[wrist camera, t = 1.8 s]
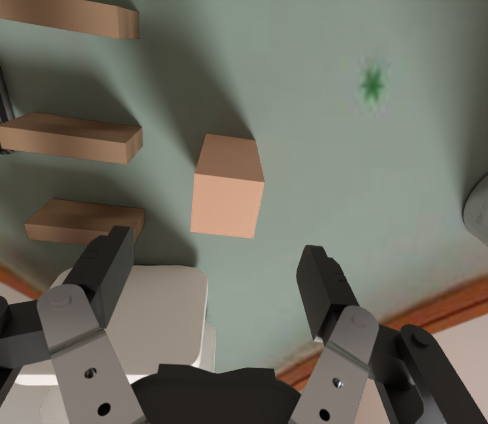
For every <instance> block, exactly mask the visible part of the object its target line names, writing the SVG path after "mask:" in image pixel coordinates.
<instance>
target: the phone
mask: <svg viewBox="0 0 488 424" xmlns="http://www.w3.org/2000/svg"><path fill="white" fill-rule="evenodd" d="M13 119H15V116H14V112H13V109H12V105H11V102H10V98H9V95H8V91H7V88H6V84H5V81H4V77H3V74H2V70H1V67H0V124H2V123H5V122H7V121H10V120H13ZM14 151H16V150H9V149H2V147H1V143H0V154H10V153H12V152H14Z"/></svg>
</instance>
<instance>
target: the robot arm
mask: <svg viewBox="0 0 488 424" xmlns="http://www.w3.org/2000/svg"><path fill="white" fill-rule="evenodd" d="M464 223H465V226H466V228H467V229H468V230H469V232H470V233H472V234H473V235H474V236H475V237H477V238H478V239H479V240H480V241H481V242H483V243H484V244H485V245H486V246H488V175H487V176H486V177H485V178H484V179H483V180H482V181H481V182H480V183H479V184H478V185H477V186H476V187H475V189H474V190H473V191H472V193H471V194H470V196H469V198H468V200H467V202H466V205H465V209H464ZM134 256H135V251H134V231H133V227H130V226H120V225H114V226H113V227H112V229H111V231H110V232H109V234H108V236H106V235H99V236H98V237H97V238H95V239H94V240H92V241H91V242H90V243H89V244H88V246H87V247H86V249H85V251H84V252H83V253H82V255H81V256H80V259H78V261H77V262H76V264H75V265H74V267H73V268H72V270H71V271H70V273H69V274H68V275H67V277H66V278H65V280H64V281H63V283H62V284H61V285H59V286H56V287H53V288H51V289H49V290H47V291H46V292H45V293H43V294H42V295H41V296H40V298H39V299H38V300H33V301H28V302H22V303H16V304H10V305H8V303H7V300H6V299H5V298H4V297H2V296H0V407H1V405H2V403H3V401H4V400H5V398H6V396H7V394H8V392H9V391H10V389H11V387H12V385H13V383H14V382H15V380H16V378H17V376H18V374H19V373H20V371H21V369H22V367H23V366H25V365H29V364H33V363H37V362H42V361H46V360H50V359H51V360H52V364H53V367H54V371H55V375H56V378H57V382H58V385H59V389H60V392H61V396H62V399H63V403H64V406H65V410H66V413H67V417H68V420H69V424H354V421H355V418H356V414H357V411H358V408H359V404H360V401H361V398H362V394H363V391H364V387H365V384H366V381H367V378H370V379H372V380H374V381H375V384H376V387H377V389H378V392H379V395H380V397H381V400H382V403H383V406H384V408H385V411H386V413H387V416H388V419H389V422H390V424H488V422H487V421H486V419H485V417H484V416H483V414H482V413H481V411H480V409H479V408H478V406H477V405H476V403H475V402H474V400H473V398H472V397H471V395H470V394H469V392H468V390H467V389H466V387H465V385H464V384H463V382H462V381H461V379H460V377H459V376H458V374H457V373H456V371H455V369H454V368H453V366H452V365H451V363H450V362H449V360H448V358H447V357H446V355H445V354H444V352H443V350H442V349H441V347H440V346H439V344H438V342H437V341H436V340H435V338H434V337H433V336H432V335H431V334H430V333H428V332H427V331H426V330H424V329H422V328H421V327H418V326H415V325H411V324H407V325H404V326H403V327H402V328H401V329H400V331H397V330H394V329H391V328H388V327H385V326H382V325H380V324H378V322H377V320H376V318H375V317H374V316H373V315H372V314H371V313H370V312H369V311H367V310H366V309H364V308H362V307H360V306H359V304H358V302H357V300H356V298H355V296H354V294H353V292H352V289H351V287H350V285H349V283H347V279H346V277H345V276H344V273H343V271H342V269H341V267H340V265H339V264H338V263H337V262H336V261H335V260H334V259H333V258H329V257H327V255H326V252H325V250H324V248H323V247H322V246H314V245H306V246H305V248H304V250H303V253H302V256H301V259H300V262H299V265H298V268H297V274H296V278H297V284H298V287H299V291H300V294H301V298H302V301H303V305H304V309H305V312H306V316H307V319H308V323H309V326H310V330H311V334H312V337H313V341H314V342H323V343H324V347H325V348H324V350H323V352H322V354H321V356H320V358H319V360H318V362H317V364H316V366H315V368H314V370H313V372H312V374H311V376H310V378H309V380H308V382H307V384H306V386H305V388H304V390H303V392H302V394H300V393H299V392H298V391H297V390H296V389H294V388H293V387H292V386H290V385H289V384H287V383H285V382H283V381H281V380H279V379H276V378H275V372H274V369H269V368H242V369H238V370H234V371H229V372H225V373H220V374H216V373H213V372H210V371H206V370H203V369H200V368H197V367H194V366H190V365H180V364H159V367H158V372H157V373H155V374H151V375H148V376H145V377H143V378H141V379H139V380H137V381H135V382H133V383H132V384H130V383H129V381H128V379H127V377H126V374H125V372H124V370H123V368H122V366H121V364H120V361H119V359H118V357H117V355H116V353H115V351H114V348H113V346H112V344H111V342H110V340H109V338H108V335H107V333H106V331H105V330H104V329H107V326H108V324H109V321H110V319H111V317H112V314H113V312H114V309H115V307H116V305H117V302H118V300H119V298H120V295H121V293H122V290H123V288H124V286H125V283H126V281H127V278H128V276H129V274H130V271H131V269H132V266H133V263H134ZM101 328H102V329H101ZM419 394H420V395H419ZM420 396H421V397H420ZM421 398H422V399H421Z"/></svg>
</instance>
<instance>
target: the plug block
mask: <svg viewBox="0 0 488 424" xmlns="http://www.w3.org/2000/svg"><path fill="white" fill-rule="evenodd" d="M264 184H265V181H264V177H263V172H262V168H261V163H260V158H259V154H258V149H257V145H256V140H250V139H243V138H236V137H228V136H221V135H214V134H207V133H206V136H205V140H204V143H203V146H202V150H201V153H200V157H199V160H198V164H197V167H196V171H195V175H194V190H193V204H192V218H191V232H197V233H207V234H216V235H226V236H235V237H245V238H253V236H254V232H255V227H256V222H257V217H258V212H259V208H260V203H261V198H262V193H263V189H264Z"/></svg>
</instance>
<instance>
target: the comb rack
mask: <svg viewBox="0 0 488 424" xmlns="http://www.w3.org/2000/svg"><path fill="white" fill-rule="evenodd" d="M0 18H1V19H6V20H12V21H18V22H24V23H30V24H35V25H41V26H47V27H53V28H59V29H65V30H70V31H76V32H82V33H88V34H94V35H99V36H105V37H111V38H117V39H139V12H136V11H132V10H129V9H125V8H122V7H118V6H113V5H108V4H103V3H97V2H92V1H86V0H0ZM0 143H1V147H2V149H9V150H17V151H25V152H33V153H41V154H49V155H56V156H64V157H72V158H80V159H88V160H96V161H103V162H111V163H119V164H128V162H129V161H130V160H131V159H132V158H133V157H134V155H135V154H136V153H137V152H138V151H139V150H140V148H141V147H142V146H143V142H142V127H135V126H128V125H121V124H114V123H107V122H100V121H93V120H85V119H78V118H71V117H64V116H57V115H50V114H43V113H36V112H32V113H29V114H27V115H24V116H21V117H18V118H16V119H13V120H10V121H7V122H5V123H2V124H0ZM144 224H145V210H144V209H138V208H130V207H121V206H112V205H103V204H94V203H85V202H76V201H67V200H58V199H51V200H50V201H49V202H48V203H47V204H46V205H45V206H43V207H42V208H41V209H40V210H39V211H38V212H37V213H35V214H34V215H33V216H32V217H31V218H30V219H29V220H27V221H26V222H25V223H24V226H25V230H26V233H27V237H28V239H30V240H41V241H51V242H61V243H71V244H82V245H88V244H89V243H90V242H91V241H92V240H94V239H95V238H97V237H98V236H99V235H106V236H108V234H109V232H110V231H111V229H112V227H113V226H114V225H120V226H130V227H133V231H134V244H135V242H136V240H137V238H138V236H139V234H140V232H141V230H142V228H143V226H144Z"/></svg>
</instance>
